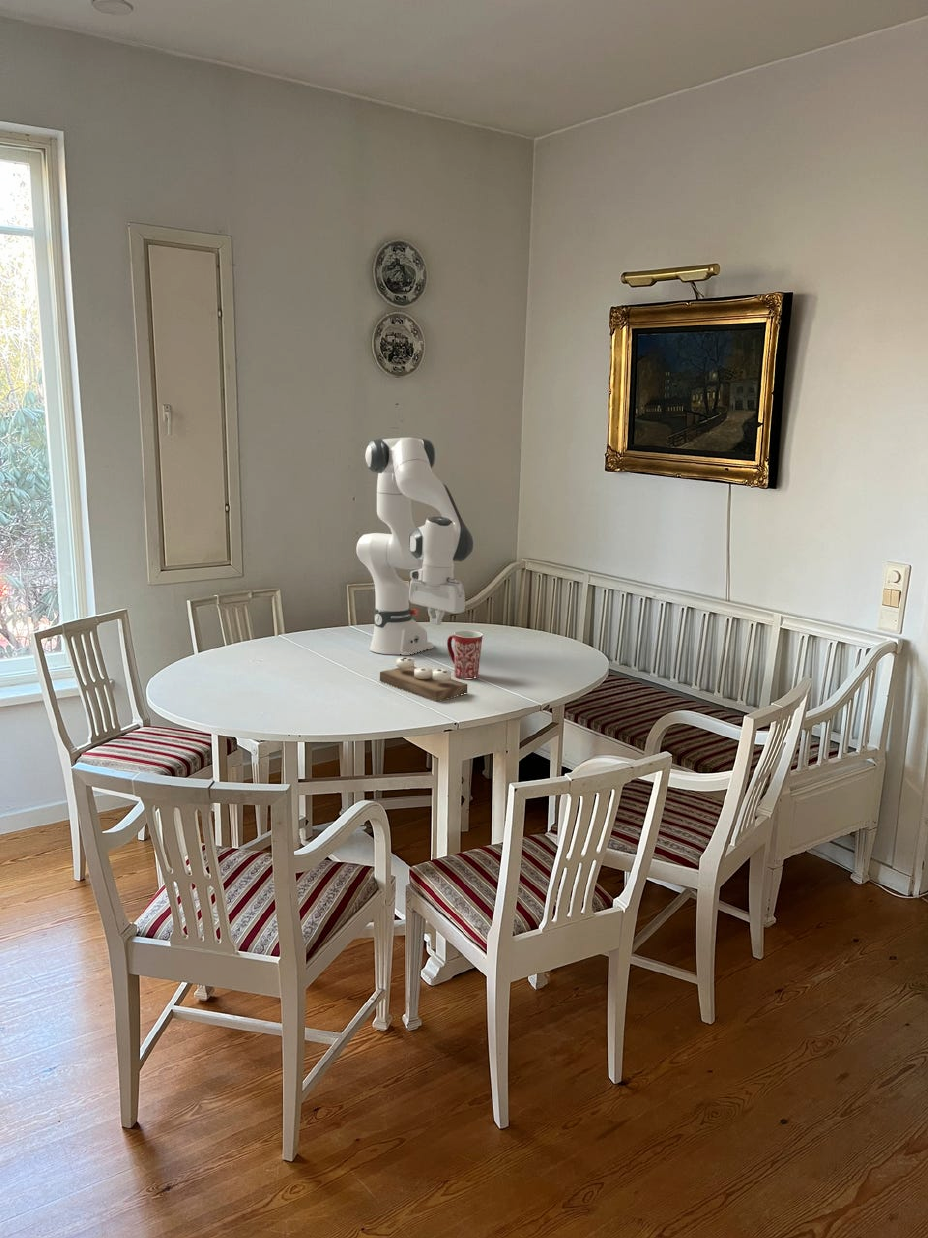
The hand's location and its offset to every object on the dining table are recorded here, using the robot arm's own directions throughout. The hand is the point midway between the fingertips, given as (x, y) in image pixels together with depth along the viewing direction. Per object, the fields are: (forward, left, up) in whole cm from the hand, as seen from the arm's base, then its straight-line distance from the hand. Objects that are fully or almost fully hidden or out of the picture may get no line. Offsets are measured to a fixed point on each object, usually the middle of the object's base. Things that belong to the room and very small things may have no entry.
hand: (435, 624), depth 267 cm
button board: (-1, -5, -20) cm, 21 cm away
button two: (-1, +3, -15) cm, 16 cm away
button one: (-1, -5, -17) cm, 18 cm away
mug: (-20, -8, -20) cm, 29 cm away
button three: (-1, -13, -15) cm, 20 cm away
